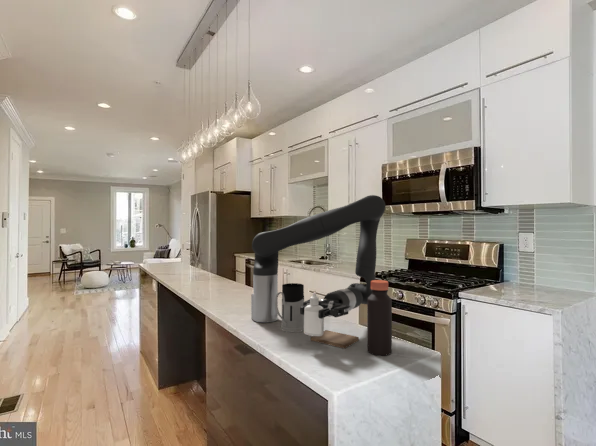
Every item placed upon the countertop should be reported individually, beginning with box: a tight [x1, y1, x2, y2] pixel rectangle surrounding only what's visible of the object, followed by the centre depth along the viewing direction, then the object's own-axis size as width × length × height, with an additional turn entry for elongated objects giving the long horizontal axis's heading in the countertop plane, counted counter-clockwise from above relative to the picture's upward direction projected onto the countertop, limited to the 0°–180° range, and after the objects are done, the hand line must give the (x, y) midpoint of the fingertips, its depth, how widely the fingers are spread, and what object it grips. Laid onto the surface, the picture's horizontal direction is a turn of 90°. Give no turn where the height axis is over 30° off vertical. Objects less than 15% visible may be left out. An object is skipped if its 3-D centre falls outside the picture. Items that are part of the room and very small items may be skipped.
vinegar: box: [366, 279, 393, 357], centre depth 97 cm, size 7×7×20 cm
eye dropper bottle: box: [303, 292, 325, 337], centre depth 98 cm, size 4×6×12 cm
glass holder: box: [275, 282, 305, 333], centre depth 117 cm, size 9×14×15 cm, turn 147°
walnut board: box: [310, 329, 360, 349], centre depth 107 cm, size 12×9×1 cm
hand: (310, 312), depth 97 cm, fingers closed on eye dropper bottle, 5 cm apart
